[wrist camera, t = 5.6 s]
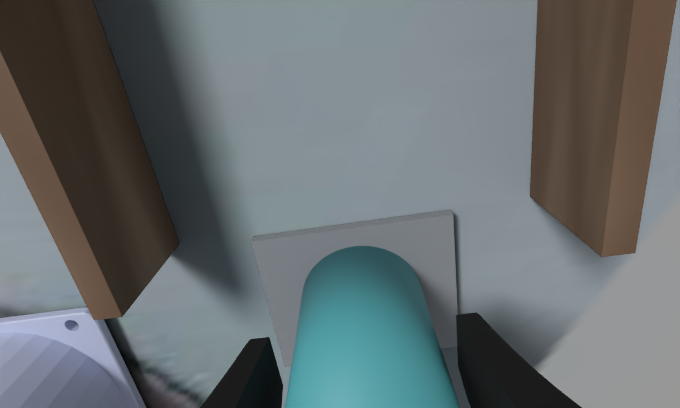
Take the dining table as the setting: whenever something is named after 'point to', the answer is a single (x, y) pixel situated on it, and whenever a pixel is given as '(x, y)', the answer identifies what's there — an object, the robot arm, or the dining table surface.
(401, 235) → the mat
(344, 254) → the capsule
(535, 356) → the dining table surface
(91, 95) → the open u-shaped frame
